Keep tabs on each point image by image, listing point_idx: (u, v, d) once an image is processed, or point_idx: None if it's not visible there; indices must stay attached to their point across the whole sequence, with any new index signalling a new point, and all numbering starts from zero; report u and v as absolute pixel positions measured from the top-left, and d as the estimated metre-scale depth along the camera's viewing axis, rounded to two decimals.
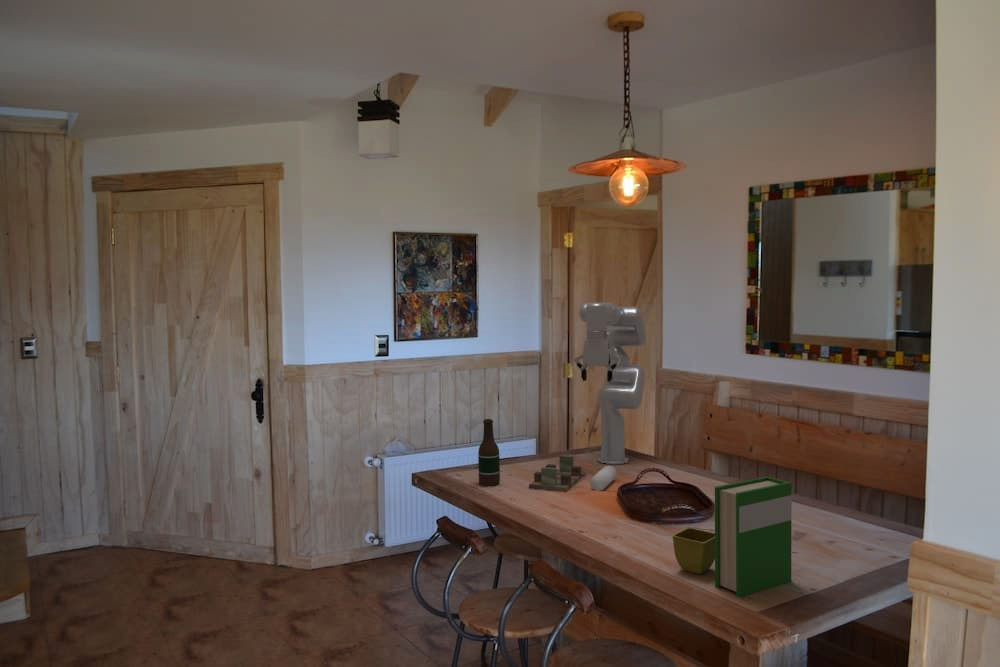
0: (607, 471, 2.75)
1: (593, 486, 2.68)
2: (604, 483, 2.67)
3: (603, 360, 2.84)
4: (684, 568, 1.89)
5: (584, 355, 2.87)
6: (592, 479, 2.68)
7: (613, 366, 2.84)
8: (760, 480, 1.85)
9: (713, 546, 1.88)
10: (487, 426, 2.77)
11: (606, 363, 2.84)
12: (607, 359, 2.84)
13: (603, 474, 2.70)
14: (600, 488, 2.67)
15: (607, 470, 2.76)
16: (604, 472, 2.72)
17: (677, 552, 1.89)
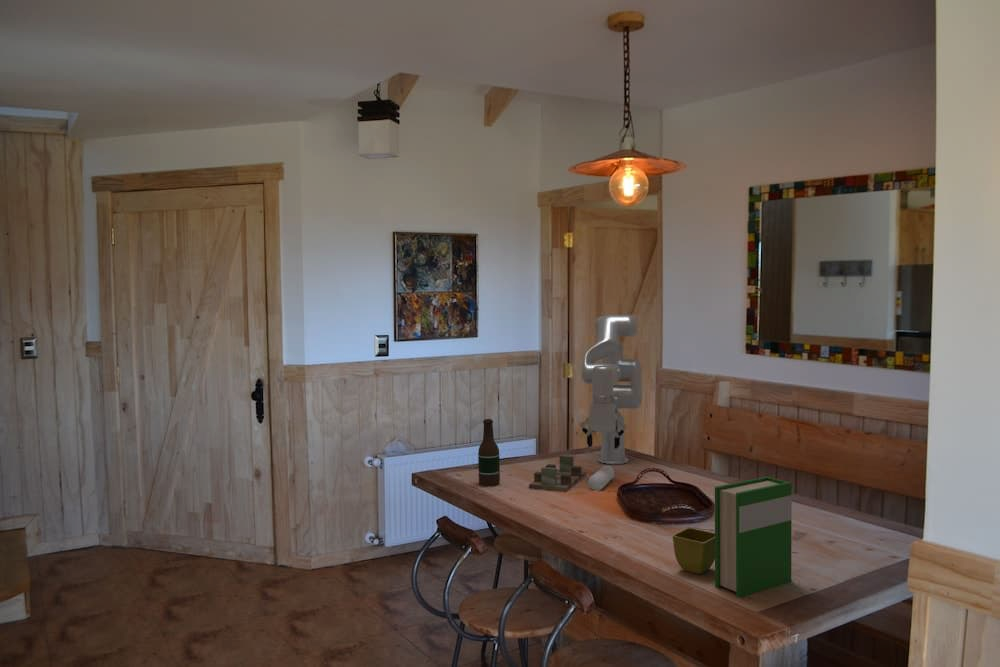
0: (603, 470, 2.75)
1: (592, 487, 2.69)
2: (602, 481, 2.67)
3: (610, 426, 2.71)
4: (684, 568, 1.89)
5: (590, 420, 2.73)
6: (589, 480, 2.69)
7: (620, 432, 2.71)
8: (760, 480, 1.85)
9: (713, 546, 1.88)
10: (487, 426, 2.77)
11: (613, 429, 2.70)
12: (614, 425, 2.70)
13: (599, 473, 2.70)
14: (599, 487, 2.68)
15: (603, 469, 2.76)
16: (600, 471, 2.73)
17: (677, 552, 1.89)
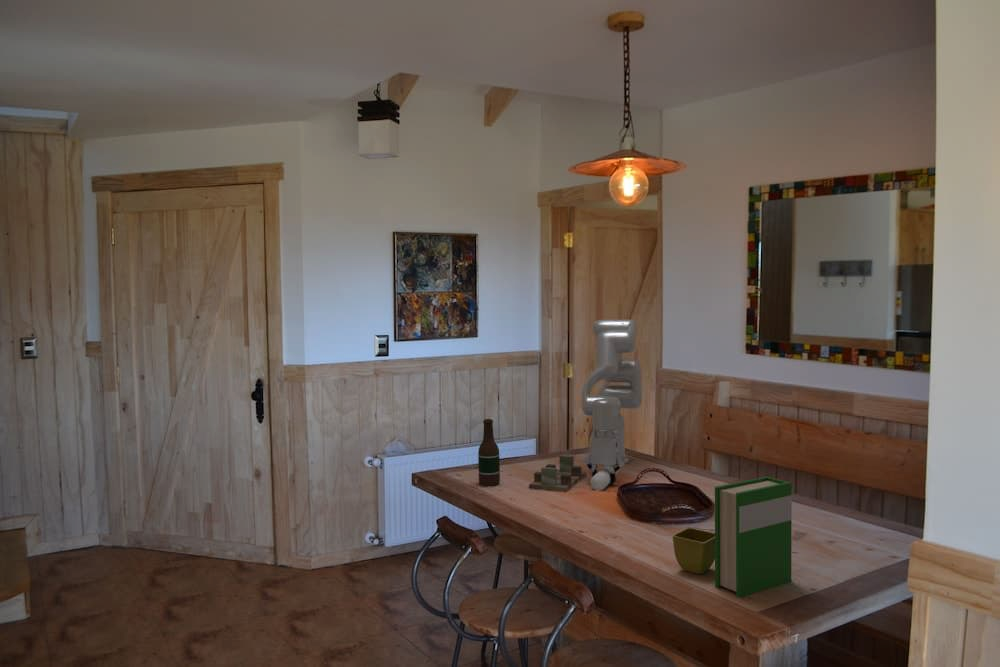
0: (607, 470, 2.75)
1: (593, 486, 2.68)
2: (604, 482, 2.67)
3: (610, 460, 2.71)
4: (684, 568, 1.89)
5: (590, 454, 2.74)
6: (592, 479, 2.68)
7: (616, 468, 2.72)
8: (760, 480, 1.85)
9: (713, 546, 1.88)
10: (487, 426, 2.77)
11: (614, 463, 2.71)
12: (615, 459, 2.71)
13: (603, 473, 2.70)
14: (601, 487, 2.67)
15: (607, 470, 2.76)
16: (604, 472, 2.72)
17: (677, 552, 1.89)
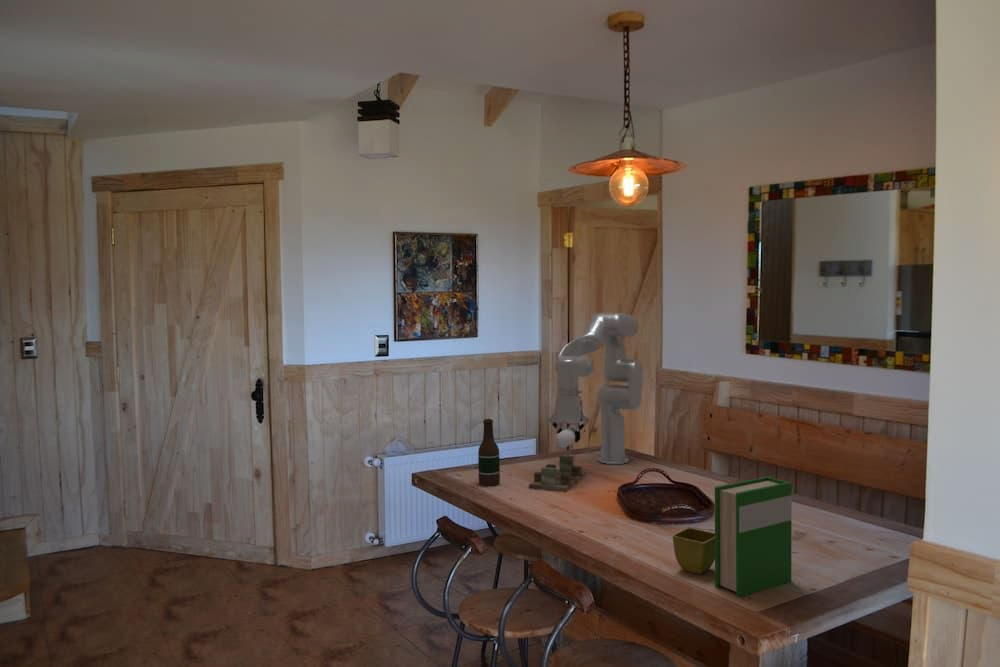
0: (572, 429, 2.78)
1: (558, 443, 2.72)
2: (569, 439, 2.70)
3: (575, 418, 2.75)
4: (684, 568, 1.89)
5: (555, 412, 2.77)
6: (557, 436, 2.72)
7: (581, 426, 2.76)
8: (760, 480, 1.85)
9: (713, 546, 1.88)
10: (487, 426, 2.77)
11: (578, 421, 2.75)
12: (579, 417, 2.75)
13: (568, 431, 2.73)
14: (565, 445, 2.71)
15: (572, 428, 2.79)
16: (569, 430, 2.76)
17: (677, 552, 1.89)
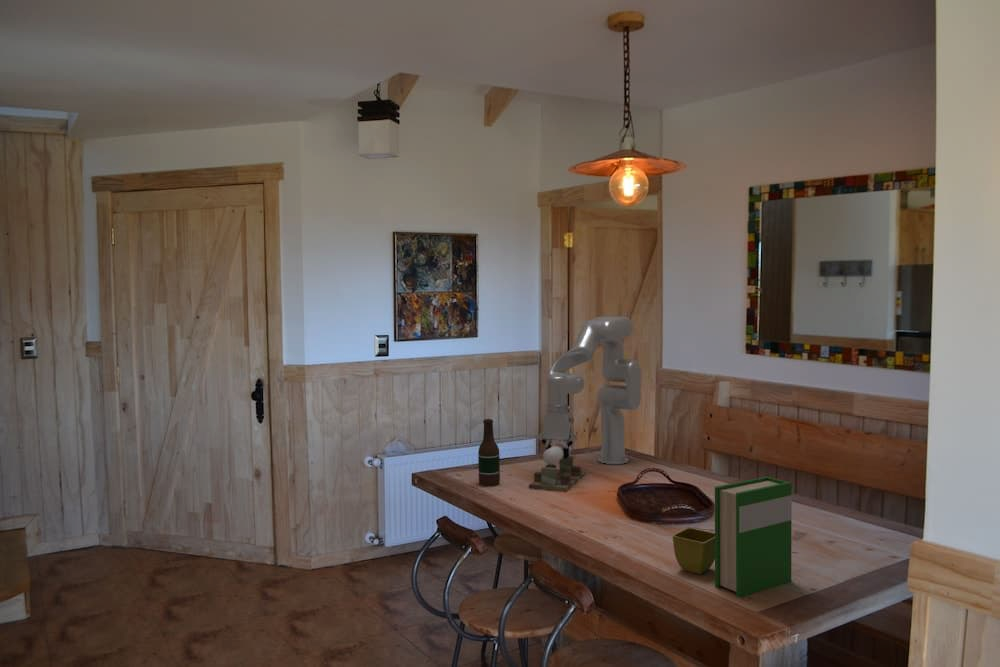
0: (561, 445, 2.80)
1: (546, 460, 2.73)
2: (556, 456, 2.72)
3: (563, 435, 2.76)
4: (684, 568, 1.89)
5: (544, 429, 2.79)
6: (545, 453, 2.73)
7: (569, 443, 2.77)
8: (760, 480, 1.85)
9: (713, 546, 1.88)
10: (487, 426, 2.77)
11: (566, 438, 2.76)
12: (567, 434, 2.76)
13: (556, 448, 2.75)
14: (553, 461, 2.72)
15: (561, 445, 2.81)
16: (557, 446, 2.77)
17: (677, 552, 1.89)
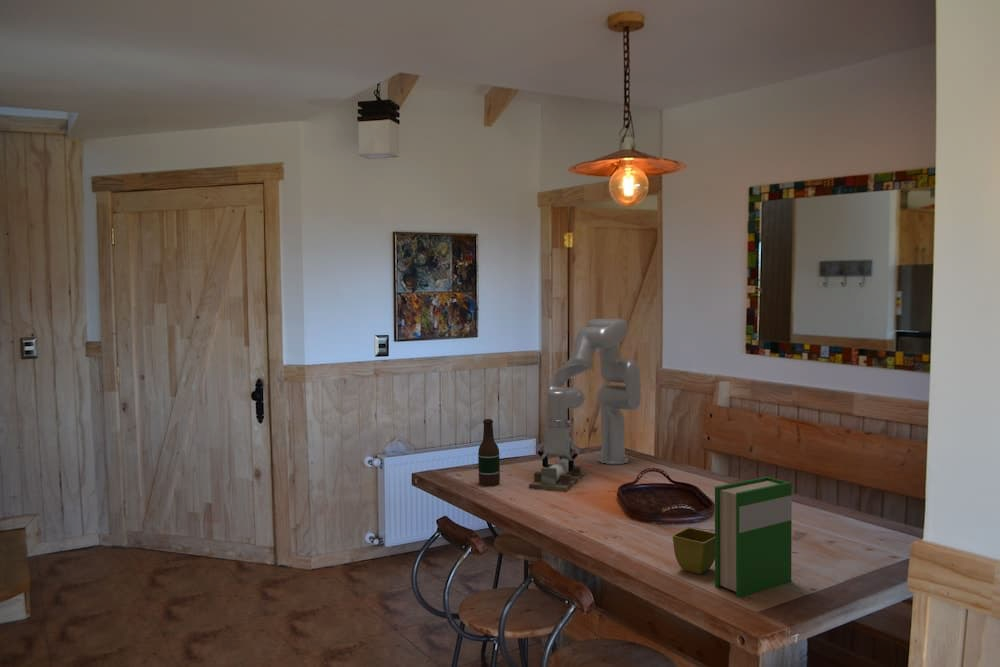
0: (561, 463, 2.80)
1: None
2: (557, 475, 2.72)
3: (564, 449, 2.77)
4: (684, 568, 1.89)
5: (545, 443, 2.80)
6: None
7: (574, 456, 2.77)
8: (760, 480, 1.85)
9: (713, 546, 1.88)
10: (487, 426, 2.77)
11: (567, 453, 2.77)
12: (568, 449, 2.77)
13: (556, 466, 2.76)
14: None
15: (561, 463, 2.81)
16: (558, 464, 2.78)
17: (677, 552, 1.89)
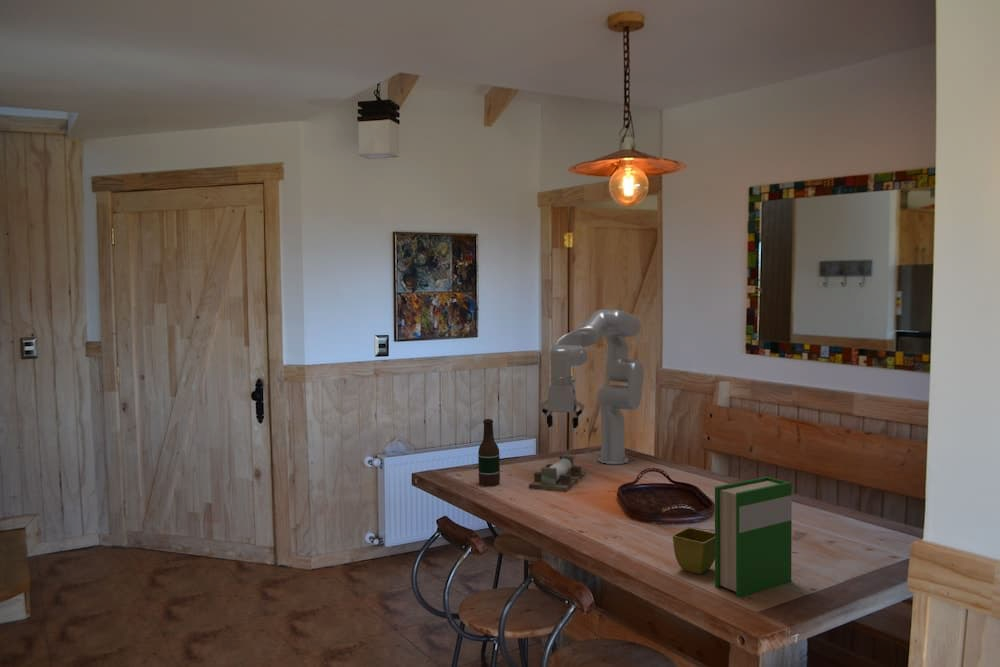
0: (561, 463, 2.80)
1: None
2: (557, 475, 2.72)
3: (568, 407, 2.78)
4: (684, 568, 1.89)
5: (549, 401, 2.80)
6: None
7: (578, 412, 2.78)
8: (760, 480, 1.85)
9: (713, 546, 1.88)
10: (487, 426, 2.77)
11: (571, 410, 2.77)
12: (572, 406, 2.77)
13: (556, 466, 2.76)
14: None
15: (561, 463, 2.81)
16: (558, 464, 2.78)
17: (677, 552, 1.89)
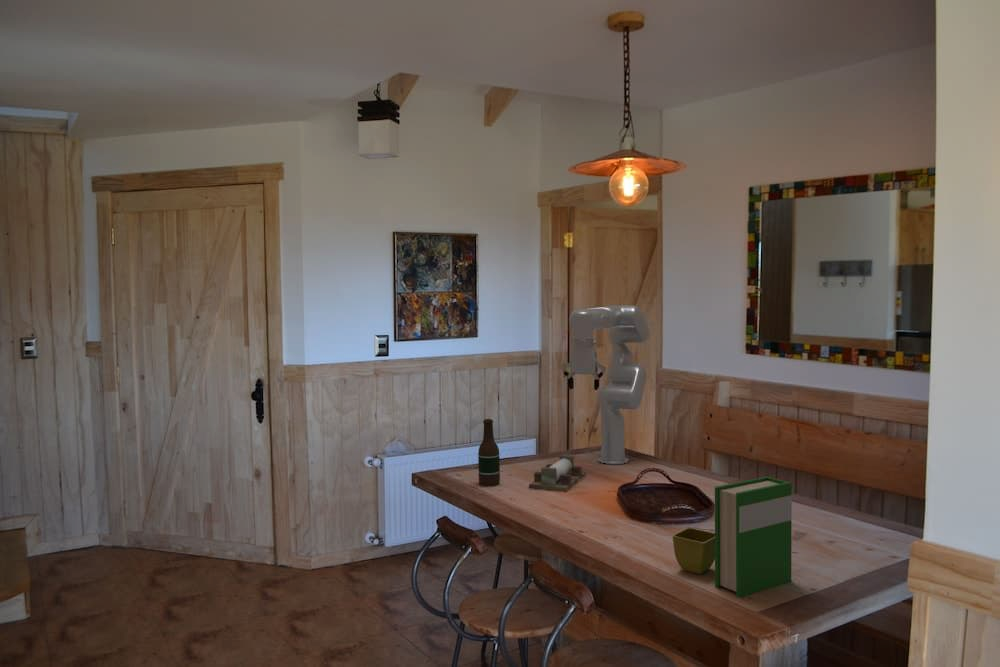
0: (561, 463, 2.80)
1: None
2: (557, 475, 2.72)
3: (590, 368, 2.83)
4: (684, 568, 1.89)
5: (571, 363, 2.86)
6: None
7: (600, 374, 2.83)
8: (760, 480, 1.85)
9: (713, 546, 1.88)
10: (487, 426, 2.77)
11: (593, 371, 2.83)
12: (594, 367, 2.83)
13: (556, 466, 2.76)
14: None
15: (561, 463, 2.81)
16: (558, 464, 2.78)
17: (677, 552, 1.89)
